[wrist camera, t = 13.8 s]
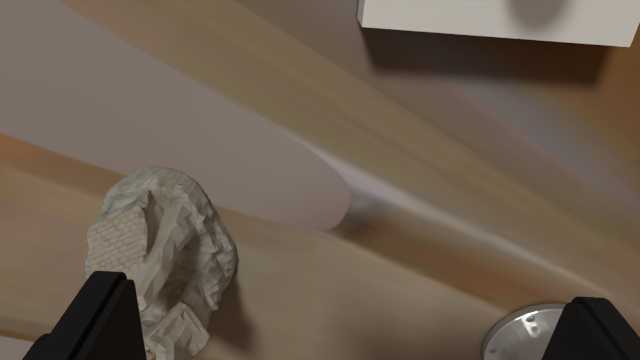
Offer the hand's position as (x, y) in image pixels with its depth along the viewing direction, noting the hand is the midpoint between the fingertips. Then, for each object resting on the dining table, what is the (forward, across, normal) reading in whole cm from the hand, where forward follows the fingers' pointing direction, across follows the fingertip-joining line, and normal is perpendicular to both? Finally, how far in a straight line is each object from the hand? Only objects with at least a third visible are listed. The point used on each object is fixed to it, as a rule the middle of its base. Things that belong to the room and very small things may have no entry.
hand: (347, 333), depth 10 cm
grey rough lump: (+29, +15, +20) cm, 38 cm away
